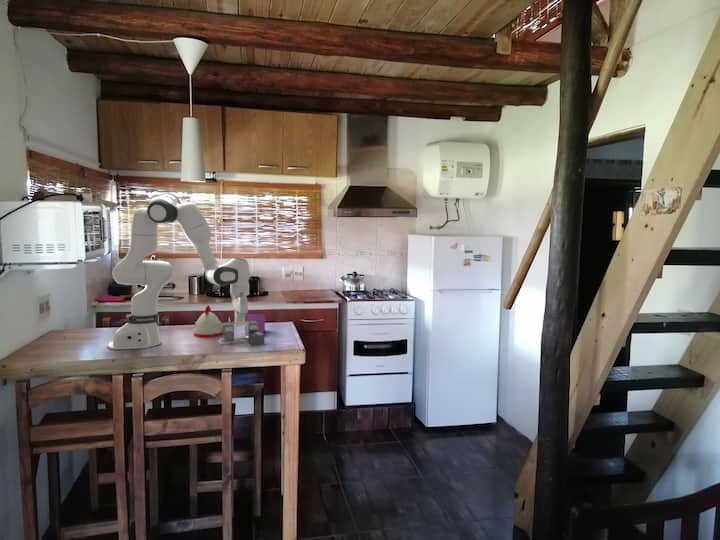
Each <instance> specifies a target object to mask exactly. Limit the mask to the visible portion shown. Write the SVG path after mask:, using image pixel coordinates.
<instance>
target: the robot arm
mask: <svg viewBox="0 0 720 540" xmlns="http://www.w3.org/2000/svg"><path fill="white" fill-rule="evenodd" d="M174 222H177V223H178V225H179V226H180V228H181V229H182V231H183V233H184V235H185V237H186V238H187V239H188V241H189V242H190V243H191V244H190V245H192V246H193V248H194V249H195V251H196V252H197V253H196V254H197V256H198V257H199V258H200V259H199V260H200V261H201V264H202V266H203V268H204V277H205V280H207V282H208V283H210V284H213V285H217V286H220V287H225V286H228V285H230V289H229V293H230V296H231V305H232V308H233V309H234V310H235V309H236V310H237V311H238V312H239V321H243V317H244V313H245V314H249V313H248V312H249V303H248V297H247V296H249V295H250V281H249V279H250V266H249V261H248V260H246V259H244V258H238V257H233V258H231V259H230V260H229V261H227V262H225V263H222V264H220V262H218V261H217V259H216V257H215V256H214V253H213V251H212V249H211V247H210V240H211V238H212V230H211V228H210V225H209V223H208V221H207V220H206V218H205V216H204V214H203V212H202V211H201V210H200V209H199V207H198V206H197V205H196V204H195V203H193V202H190V201H189V202H183V203H181V200H180V199H179V197H177V196H176V195H175V194H173V193H163V194H160V195H158V196H156V197H155V198H154V199H152V200H151V201H150V202H149V204H148V205H147V207H140V208H137V209H136V210H134V212H133V214H132V219H131V228H130V244H129V245H130V247H129V249H128V252H127V253H126V256H124V257H123V259H122V260H120V261H119V262H117V263H116V264H115V265H114V267H113V268H112V271H111V272H112V277H113V279H114V281H115V282H116V283H117V284H119V285H125V286H135V285H136V286H137V285H140V286H142V285H145V287H144V289H143V290H141V291H139V292H137V293H135V294H134V295H133V296H132V297H131V301H130V302H131V304H130V305H131V307H130V310H131V314H129V313H127V314H126V315H125V319H126V323H125V324H124V325H122V326H121V327H120V328H118V329H117V330H116V331H115V333H114V334H113V340H112V341H110V342H108V345H107V347H108V349H110V350H132V349H133V350H134V349H135V350H137V349H149V348H151V347H155V346H158V345H160V344H162V340H161V335H160V331H159V324H160V322H159V321H160V320H159V319H160V315H159V313H158V302H159V296H160V293H161V291H162V289H163V288H164V287H165V286H166V285H167V284H168V283H169V282H170V281H171V280H172V279H173V277H174V273H175V272H174V268H173V266H172V264H171V263H170V262H169V261H162V260H145V258H146V257H148V256H150V255H152V254H154V253H155V252H156V251H157V249H158V246H159V245H158V243H159V241H158V240H159V238H158V237H159V224H167V223H174Z"/></svg>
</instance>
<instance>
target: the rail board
mask: <svg viewBox="0 0 720 540" xmlns="http://www.w3.org/2000/svg"><path fill="white" fill-rule="evenodd" d="M221 325H222V335H221V337H219V339H217V343H218V344H219V345H220V344H221V345H231V343H233V344H243V343H248V334H251V333H254V332H258V323H257V322H256V321H246V320H245V327H246V334H245V336H235V323H233V322H221Z"/></svg>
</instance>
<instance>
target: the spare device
mask: <svg viewBox="0 0 720 540" xmlns="http://www.w3.org/2000/svg"><path fill="white" fill-rule="evenodd" d="M247 344H249V346H252V347H256V346H264V345H265V333H264V334H263V333H260V332H254V333H251V334H248V342H247Z"/></svg>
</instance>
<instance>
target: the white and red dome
mask: <svg viewBox="0 0 720 540" xmlns="http://www.w3.org/2000/svg"><path fill="white" fill-rule="evenodd" d="M194 322H195V323H194V326H193V327H194V329H193V336H194V337H196V338H202V337H203V338H204V339H205V338H207V339H208V338H215V337H216V336H217V337H221V336H222V321H221V320H220V319H219V318H218V316H217V315H216V314H215V313H213V312H212V308H211V307H210V305H207V306H206V307H205V309H204V313H202V314H201V315H200V316H199V318H198V319H197V321H194Z"/></svg>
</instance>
